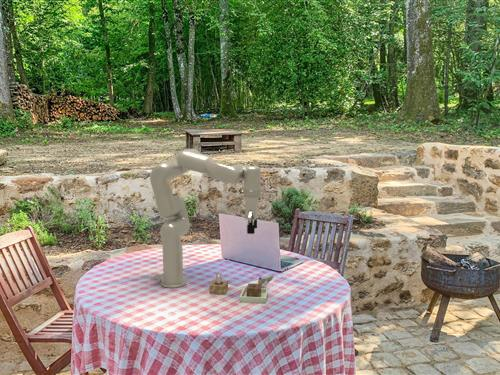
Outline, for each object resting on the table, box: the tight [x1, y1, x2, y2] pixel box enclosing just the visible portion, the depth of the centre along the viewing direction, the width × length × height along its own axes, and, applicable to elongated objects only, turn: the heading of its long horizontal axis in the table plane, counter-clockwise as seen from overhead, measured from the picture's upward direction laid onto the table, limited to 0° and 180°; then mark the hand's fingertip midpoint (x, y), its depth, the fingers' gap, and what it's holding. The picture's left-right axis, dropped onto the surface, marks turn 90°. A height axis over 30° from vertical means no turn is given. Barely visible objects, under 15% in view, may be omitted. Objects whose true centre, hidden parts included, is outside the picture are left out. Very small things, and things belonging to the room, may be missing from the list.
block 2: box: [246, 283, 261, 297], centre depth 225 cm, size 6×6×5 cm
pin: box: [215, 273, 222, 285], centre depth 233 cm, size 2×2×8 cm
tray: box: [239, 286, 269, 305], centre depth 225 cm, size 12×12×2 cm
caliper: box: [257, 274, 274, 288], centre depth 243 cm, size 20×1×6 cm, turn 159°
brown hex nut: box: [208, 279, 229, 295], centre depth 233 cm, size 7×7×4 cm
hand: (252, 230), depth 224 cm, fingers open, 9 cm apart
